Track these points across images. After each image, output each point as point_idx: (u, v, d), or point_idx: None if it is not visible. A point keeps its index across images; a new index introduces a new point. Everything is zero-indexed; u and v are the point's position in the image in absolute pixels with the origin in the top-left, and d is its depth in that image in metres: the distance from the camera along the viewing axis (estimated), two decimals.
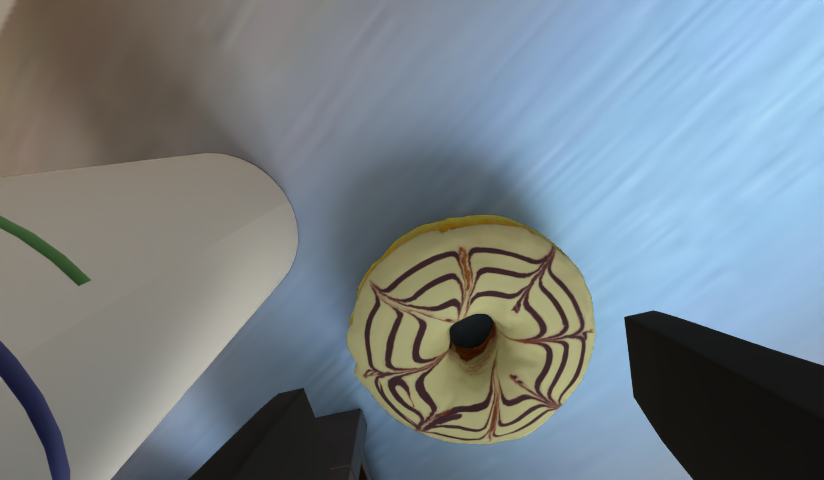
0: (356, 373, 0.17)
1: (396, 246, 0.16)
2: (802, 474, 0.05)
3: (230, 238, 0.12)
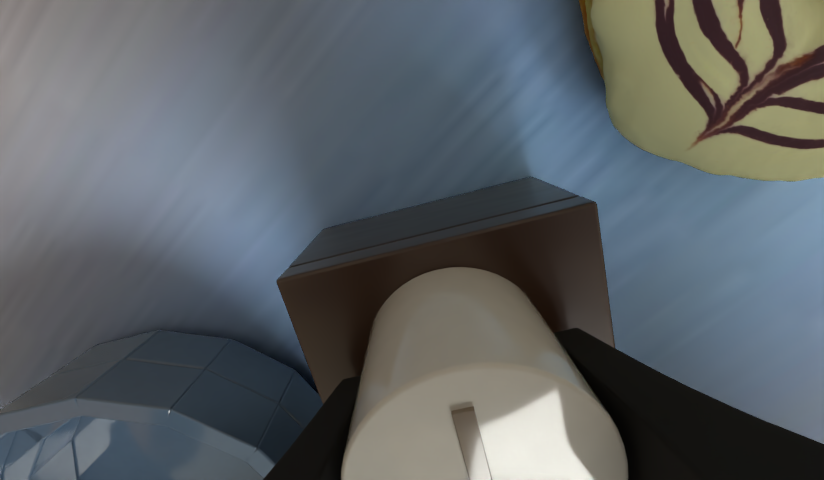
0: None
1: None
2: None
3: None
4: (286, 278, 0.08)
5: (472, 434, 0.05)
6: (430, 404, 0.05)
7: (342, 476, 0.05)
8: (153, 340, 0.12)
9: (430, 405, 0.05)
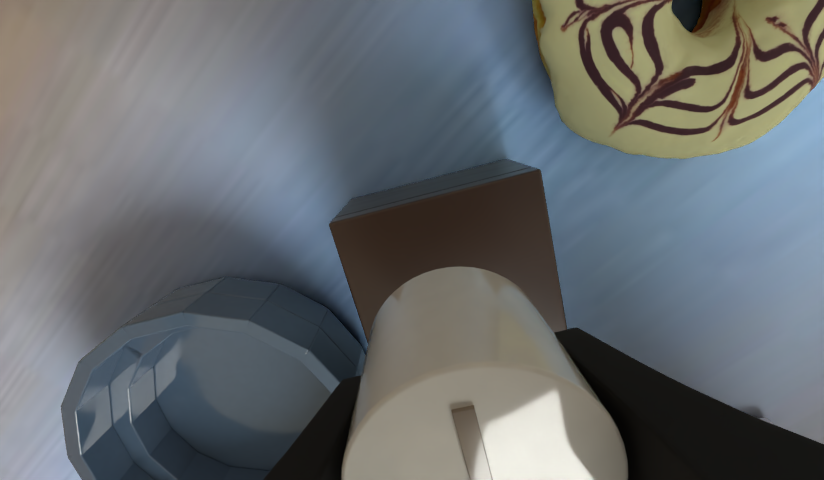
0: (546, 34, 0.12)
1: None
2: None
3: None
4: (335, 222, 0.13)
5: (473, 433, 0.05)
6: (430, 403, 0.05)
7: (342, 475, 0.05)
8: (224, 282, 0.17)
9: (430, 404, 0.05)
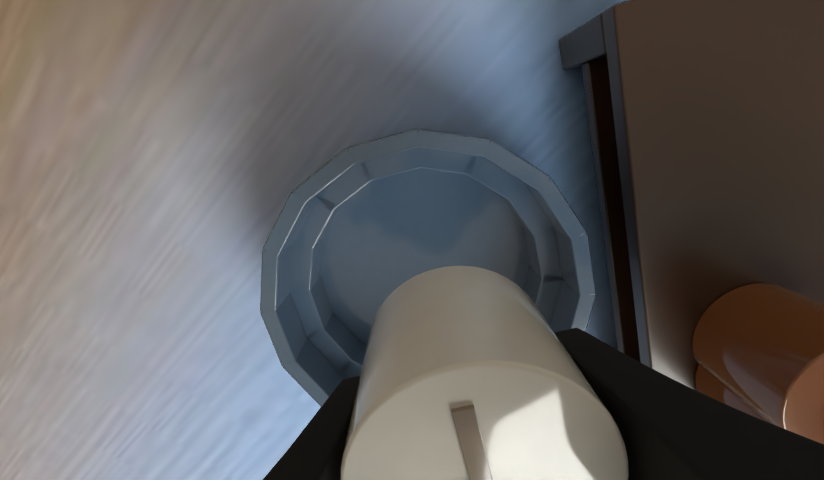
0: None
1: None
2: None
3: None
4: (621, 3, 0.11)
5: (473, 433, 0.05)
6: (430, 402, 0.05)
7: (341, 474, 0.05)
8: None
9: (430, 403, 0.05)
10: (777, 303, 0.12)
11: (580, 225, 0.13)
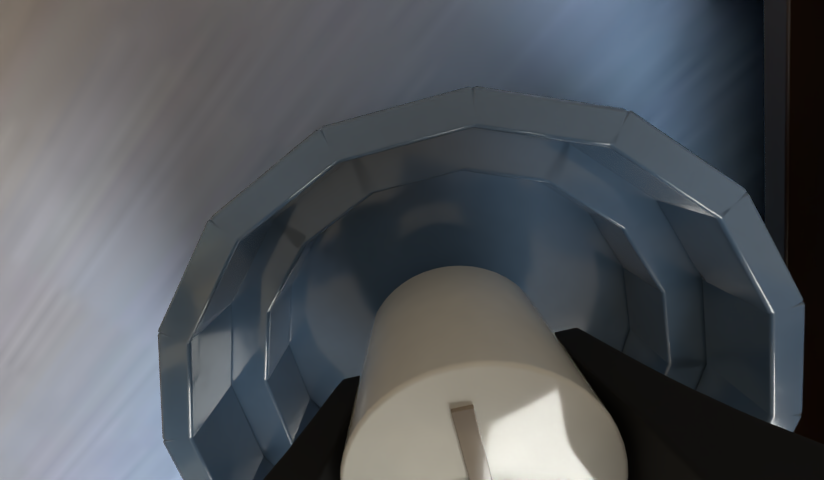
0: None
1: None
2: None
3: None
4: None
5: (473, 433, 0.05)
6: (429, 402, 0.05)
7: (341, 474, 0.05)
8: None
9: (429, 403, 0.05)
10: None
11: (793, 286, 0.07)
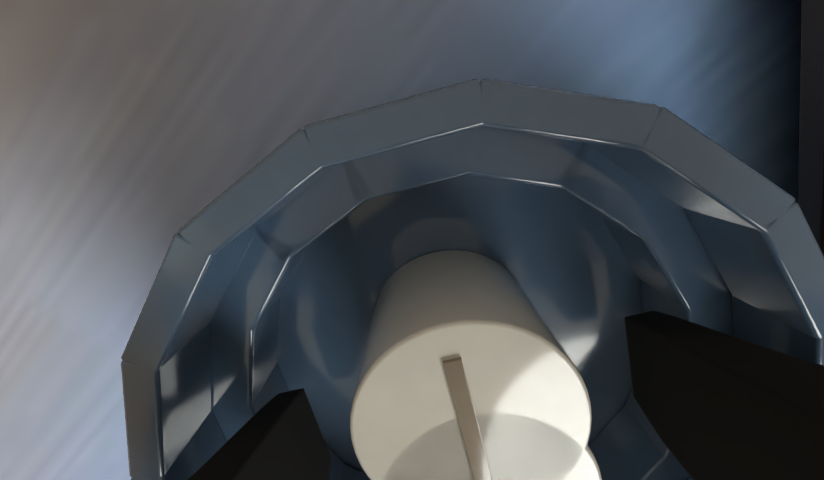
0: None
1: None
2: (802, 474, 0.05)
3: None
4: None
5: (460, 381, 0.06)
6: (425, 355, 0.06)
7: (351, 418, 0.06)
8: None
9: (425, 356, 0.06)
10: None
11: None
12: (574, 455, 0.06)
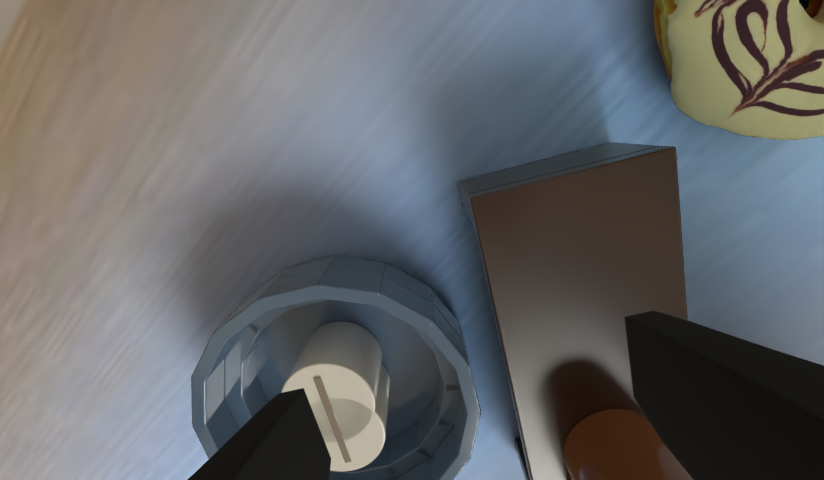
0: (677, 20, 0.13)
1: None
2: (802, 474, 0.05)
3: None
4: (477, 197, 0.13)
5: (321, 385, 0.16)
6: (306, 375, 0.16)
7: None
8: (336, 260, 0.17)
9: (306, 376, 0.16)
10: (617, 437, 0.14)
11: (462, 358, 0.16)
12: (370, 415, 0.16)
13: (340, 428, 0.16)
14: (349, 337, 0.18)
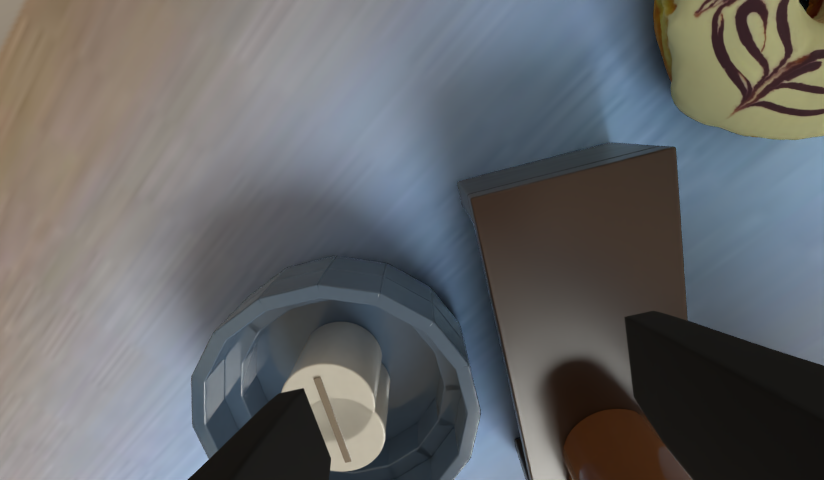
0: (677, 20, 0.13)
1: None
2: (802, 474, 0.05)
3: None
4: (477, 197, 0.13)
5: (321, 385, 0.16)
6: (306, 375, 0.16)
7: None
8: (336, 261, 0.17)
9: (306, 376, 0.16)
10: (617, 437, 0.14)
11: (462, 358, 0.16)
12: (370, 415, 0.16)
13: (340, 428, 0.16)
14: (349, 337, 0.18)
